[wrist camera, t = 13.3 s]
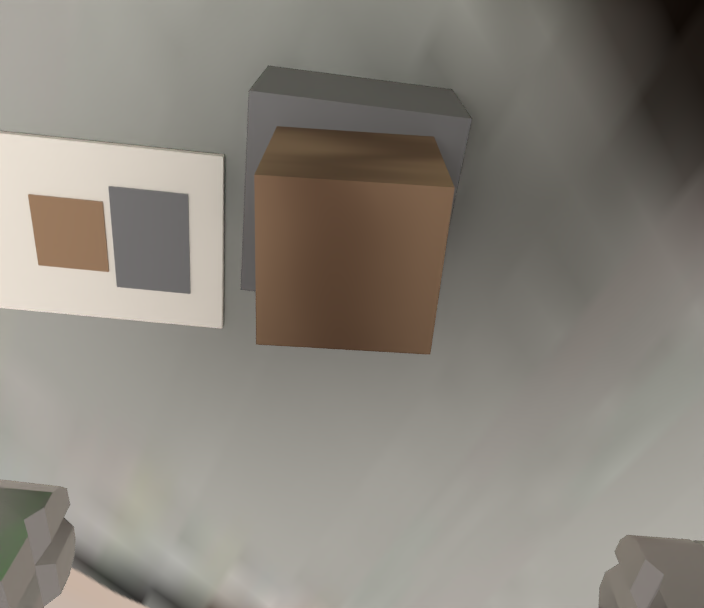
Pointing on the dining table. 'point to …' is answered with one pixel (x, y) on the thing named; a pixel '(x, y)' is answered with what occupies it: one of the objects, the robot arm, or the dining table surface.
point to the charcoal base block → (344, 123)
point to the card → (111, 230)
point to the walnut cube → (350, 239)
